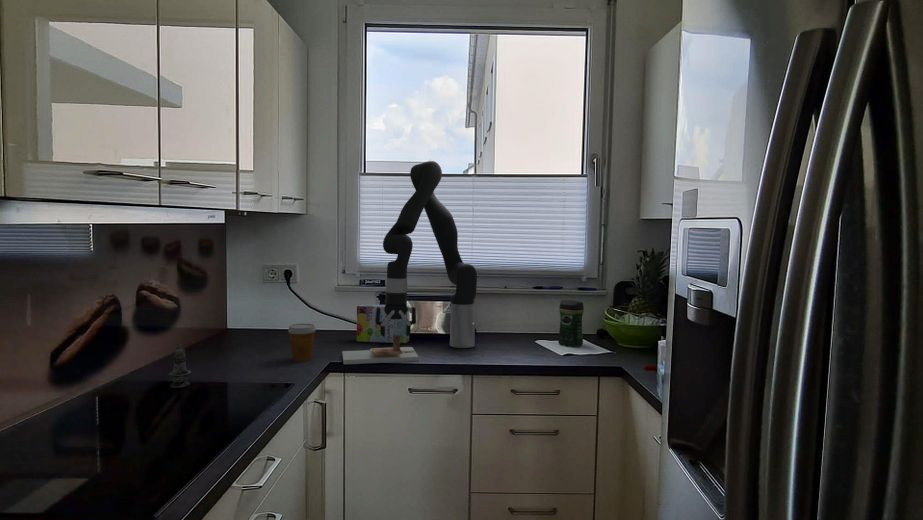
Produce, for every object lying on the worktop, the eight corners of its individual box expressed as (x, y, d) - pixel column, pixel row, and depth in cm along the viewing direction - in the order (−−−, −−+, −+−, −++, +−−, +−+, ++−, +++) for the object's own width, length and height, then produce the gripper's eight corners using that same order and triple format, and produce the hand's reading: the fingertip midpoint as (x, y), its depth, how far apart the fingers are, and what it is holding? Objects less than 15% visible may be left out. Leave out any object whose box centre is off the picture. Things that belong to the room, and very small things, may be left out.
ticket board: (412, 352, 196) (412, 346, 196) (418, 360, 184) (418, 354, 183) (342, 355, 190) (342, 349, 189) (343, 364, 177) (343, 357, 177)
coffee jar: (585, 345, 214) (587, 300, 213) (575, 348, 208) (577, 302, 207) (565, 341, 221) (566, 298, 219) (555, 344, 215) (556, 299, 214)
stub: (399, 350, 188) (399, 332, 188) (401, 354, 183) (401, 335, 182) (371, 351, 185) (371, 333, 185) (373, 355, 180) (373, 336, 180)
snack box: (409, 341, 216) (409, 305, 216) (406, 343, 211) (407, 307, 210) (359, 339, 218) (360, 303, 218) (355, 341, 213) (356, 305, 212)
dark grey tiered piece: (174, 381, 154) (173, 341, 153) (194, 381, 154) (194, 341, 154) (164, 388, 148) (163, 346, 147) (185, 387, 148) (185, 346, 148)
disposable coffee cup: (321, 357, 186) (321, 324, 185) (305, 364, 177) (305, 329, 176) (298, 355, 189) (299, 322, 188) (281, 361, 180) (281, 327, 179)
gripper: (414, 289, 189) (413, 333, 190) (375, 289, 186) (374, 334, 187) (418, 292, 182) (416, 337, 183) (377, 292, 178) (375, 338, 179)
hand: (395, 336), depth 185 cm, fingers open, 8 cm apart
